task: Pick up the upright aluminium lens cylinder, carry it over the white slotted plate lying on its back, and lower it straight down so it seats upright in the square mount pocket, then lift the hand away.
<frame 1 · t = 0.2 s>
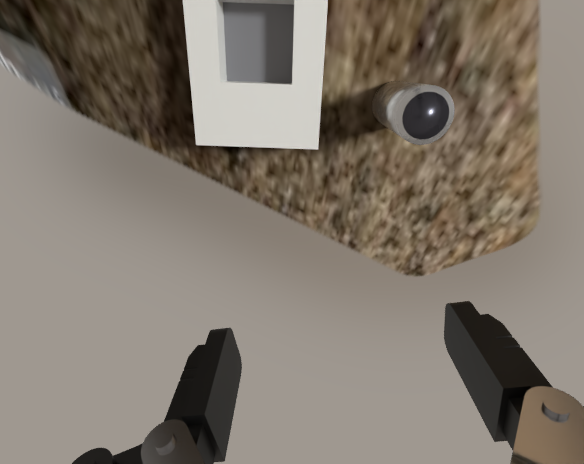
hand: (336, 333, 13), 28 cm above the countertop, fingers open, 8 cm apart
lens: (393, 104, 36), on the countertop
white slotted plate: (261, 45, 33), on the countertop
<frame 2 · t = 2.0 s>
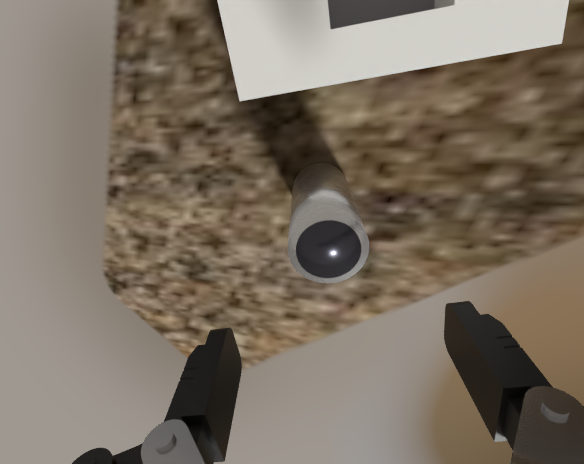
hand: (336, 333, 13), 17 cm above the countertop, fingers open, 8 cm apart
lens: (319, 189, 28), on the countertop
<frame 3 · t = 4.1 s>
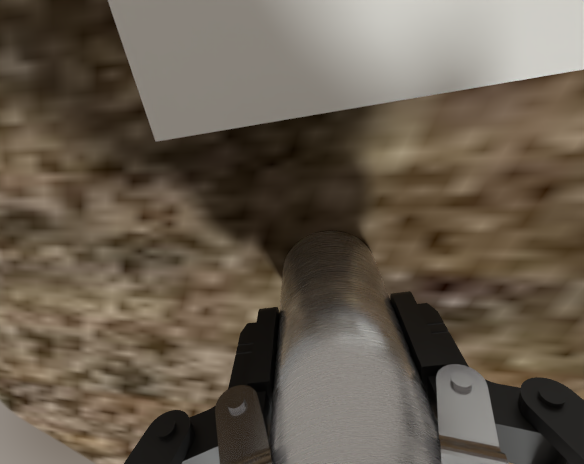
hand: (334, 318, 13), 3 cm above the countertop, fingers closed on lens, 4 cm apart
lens: (329, 272, 16), on the countertop, touching gripper
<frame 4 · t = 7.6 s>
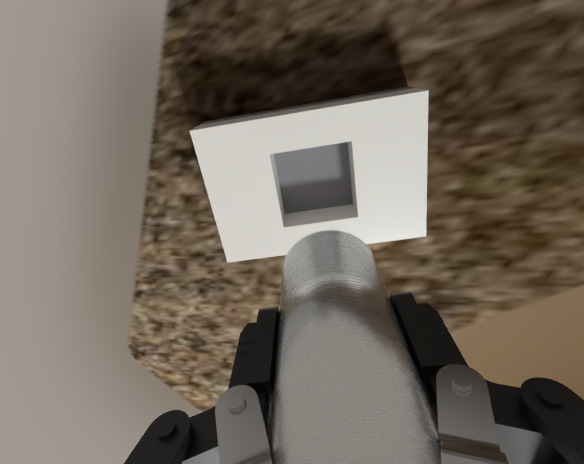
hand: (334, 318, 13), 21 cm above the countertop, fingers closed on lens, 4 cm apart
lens: (329, 271, 16), point 18 cm above the countertop, touching gripper
white slotted plate: (313, 170, 32), on the countertop
when the fingers open (6 cm above the countertop, at t = 11.1 s): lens stays where it is, resting on white slotted plate.
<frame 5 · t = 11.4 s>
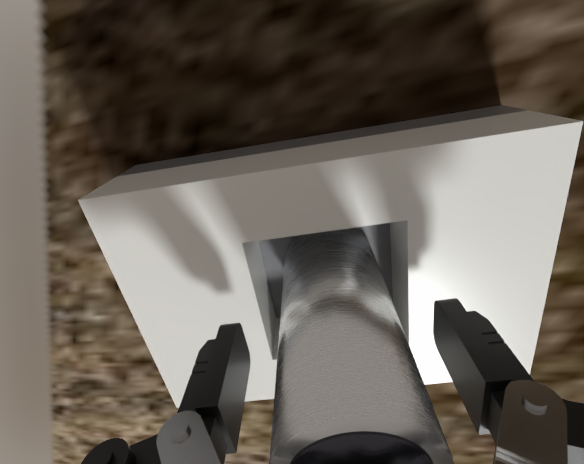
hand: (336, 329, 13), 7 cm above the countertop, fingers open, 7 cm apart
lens: (328, 261, 17), point 2 cm above the countertop, touching white slotted plate
white slotted plate: (324, 243, 19), on the countertop
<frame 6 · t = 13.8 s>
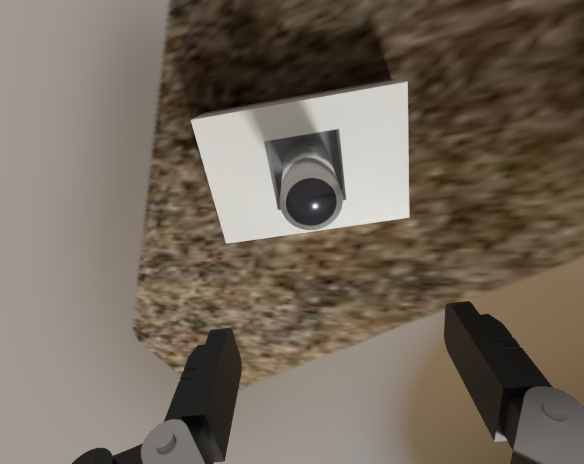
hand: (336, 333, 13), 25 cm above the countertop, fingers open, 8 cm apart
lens: (306, 162, 33), point 2 cm above the countertop, touching white slotted plate
white slotted plate: (305, 157, 35), on the countertop
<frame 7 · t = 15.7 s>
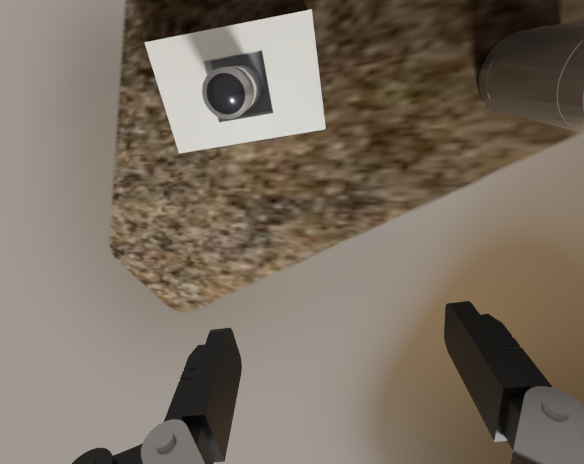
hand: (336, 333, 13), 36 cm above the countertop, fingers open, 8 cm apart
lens: (243, 85, 40), point 2 cm above the countertop, touching white slotted plate
white slotted plate: (245, 85, 42), on the countertop
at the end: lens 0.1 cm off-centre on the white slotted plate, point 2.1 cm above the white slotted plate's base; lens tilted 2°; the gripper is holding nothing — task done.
